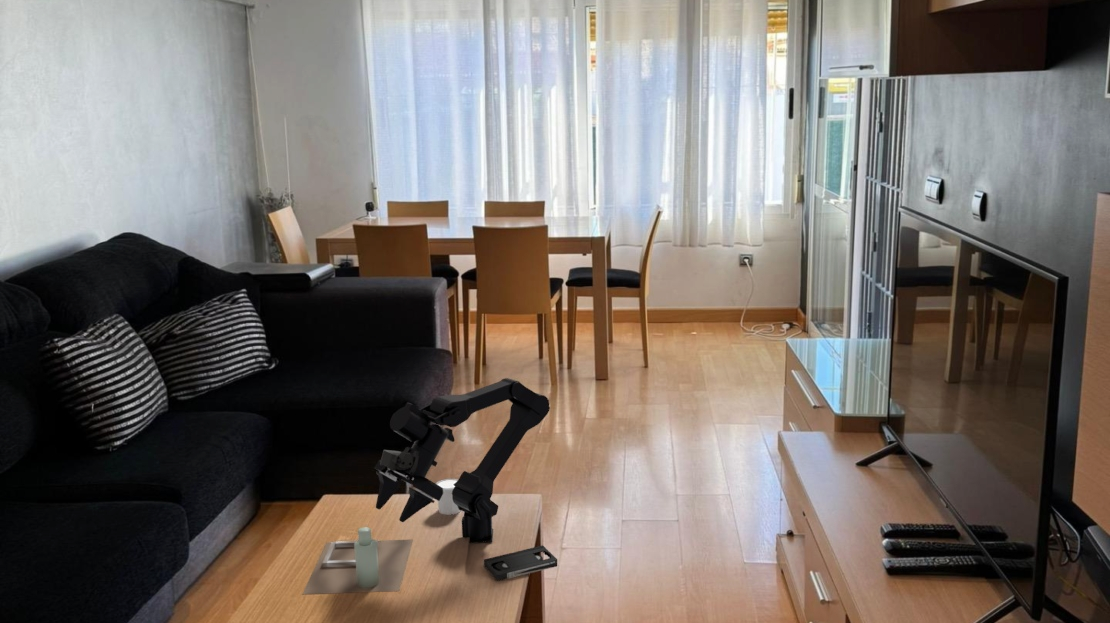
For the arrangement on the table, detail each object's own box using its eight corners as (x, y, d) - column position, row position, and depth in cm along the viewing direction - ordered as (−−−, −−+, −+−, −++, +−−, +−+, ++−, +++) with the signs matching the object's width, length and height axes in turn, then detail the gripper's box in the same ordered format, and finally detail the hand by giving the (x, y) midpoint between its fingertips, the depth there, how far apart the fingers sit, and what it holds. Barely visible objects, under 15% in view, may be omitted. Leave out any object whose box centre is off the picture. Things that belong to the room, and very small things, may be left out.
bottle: (381, 577, 210) (377, 524, 208) (377, 587, 206) (373, 534, 203) (359, 577, 210) (355, 525, 208) (355, 588, 206) (351, 535, 203)
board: (413, 543, 228) (412, 535, 227) (399, 595, 204) (398, 586, 204) (326, 546, 228) (325, 538, 227) (302, 598, 204) (301, 590, 204)
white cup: (466, 504, 249) (465, 478, 247) (461, 516, 242) (459, 489, 240) (439, 504, 249) (438, 478, 248) (433, 515, 243) (432, 489, 241)
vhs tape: (497, 583, 209) (497, 574, 209) (484, 567, 216) (483, 559, 216) (558, 568, 215) (557, 559, 215) (543, 553, 222) (542, 545, 222)
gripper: (376, 424, 217) (339, 488, 213) (424, 445, 204) (386, 513, 200) (410, 445, 225) (375, 507, 221) (459, 467, 211) (423, 533, 207)
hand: (389, 514), depth 212 cm, fingers open, 9 cm apart
